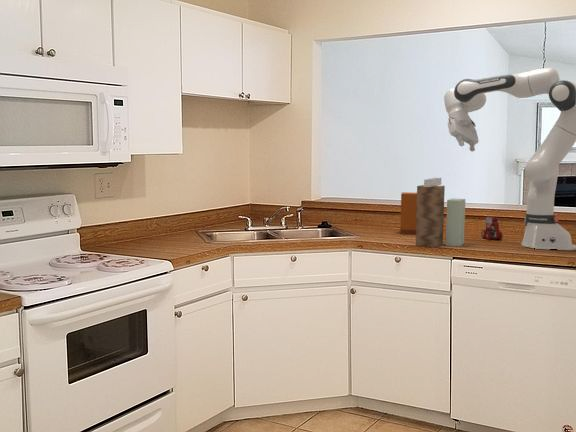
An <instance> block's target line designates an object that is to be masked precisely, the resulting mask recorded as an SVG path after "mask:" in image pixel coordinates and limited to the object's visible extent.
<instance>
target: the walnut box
mask: <svg viewBox="0 0 576 432" xmlns="http://www.w3.org/2000/svg"><path fill="white" fill-rule="evenodd" d="M445 186H446V185H437V186H433V187H424V184H422V185H417V186H416V193H417V212H416V235H415V246H418V247H433V248H437V247H438V248H439V247H441V246H442V245H444V223H445V222H444V219H445V217H444V216H445V190H446V189H445V188H446V187H445Z"/></svg>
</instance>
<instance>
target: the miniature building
mask: <svg viewBox="0 0 576 432" xmlns="http://www.w3.org/2000/svg"><path fill="white" fill-rule="evenodd" d="M416 212H417V192H401V194H400V230H399V234H401V235H415V236H416Z"/></svg>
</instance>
